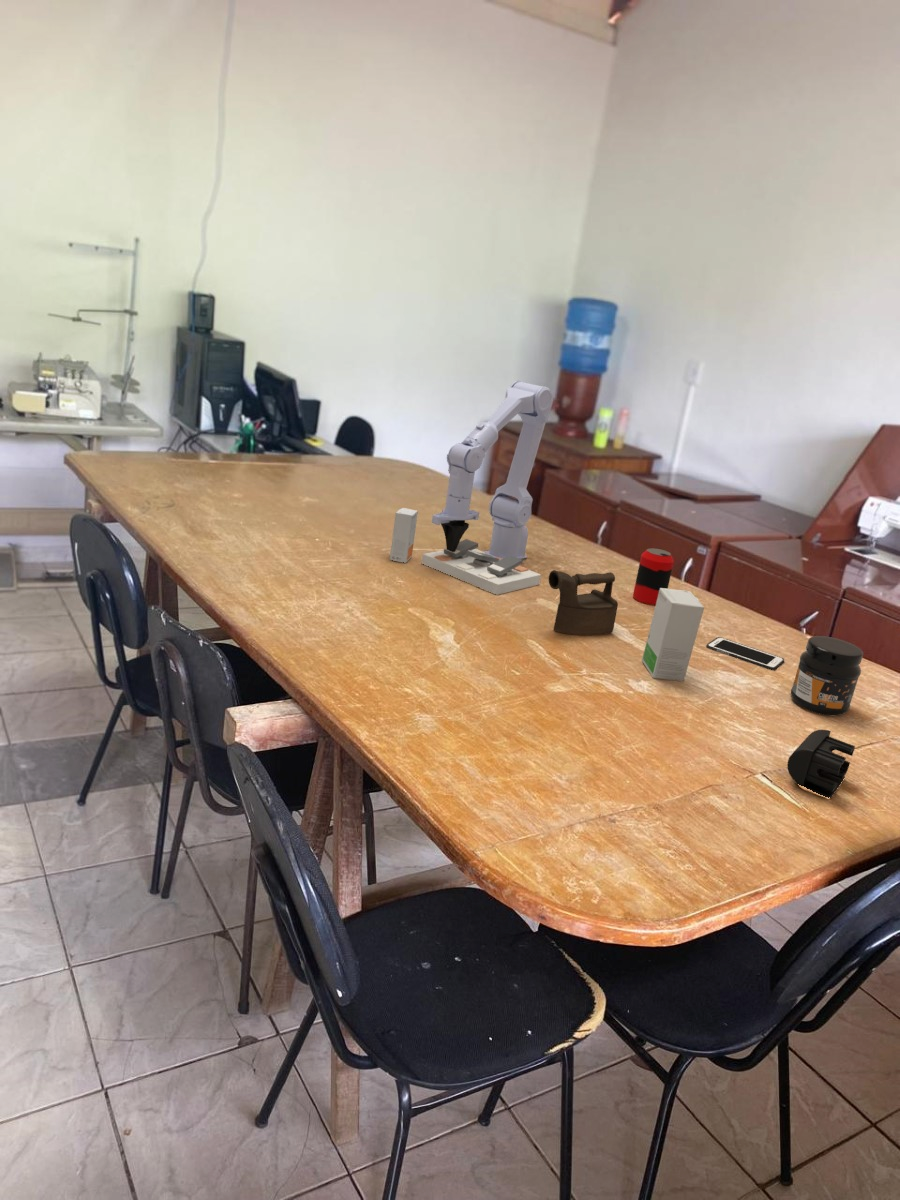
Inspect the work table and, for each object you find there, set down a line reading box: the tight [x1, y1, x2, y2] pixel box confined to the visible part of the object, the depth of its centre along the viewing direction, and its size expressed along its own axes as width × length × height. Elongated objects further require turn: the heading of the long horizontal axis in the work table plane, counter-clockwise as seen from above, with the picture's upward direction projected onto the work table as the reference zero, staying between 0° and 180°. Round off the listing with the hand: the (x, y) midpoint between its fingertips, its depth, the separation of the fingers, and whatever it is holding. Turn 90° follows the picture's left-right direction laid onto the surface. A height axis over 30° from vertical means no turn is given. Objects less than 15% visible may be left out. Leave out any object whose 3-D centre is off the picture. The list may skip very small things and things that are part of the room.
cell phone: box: [705, 636, 785, 671], centre depth 187 cm, size 8×15×1 cm, turn 54°
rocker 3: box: [487, 555, 523, 576], centre depth 209 cm, size 8×4×1 cm, turn 137°
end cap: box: [786, 729, 856, 799], centre depth 137 cm, size 10×7×7 cm
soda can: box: [632, 547, 675, 606], centre depth 211 cm, size 8×8×12 cm
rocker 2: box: [466, 550, 499, 562], centre depth 213 cm, size 8×4×1 cm, turn 138°
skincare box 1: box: [389, 507, 419, 564], centre depth 216 cm, size 6×4×12 cm
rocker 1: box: [443, 538, 479, 558], centre depth 217 cm, size 8×4×1 cm, turn 137°
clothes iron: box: [548, 569, 619, 636], centre depth 185 cm, size 8×16×13 cm, turn 120°
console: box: [421, 548, 542, 596], centre depth 214 cm, size 16×24×3 cm, turn 47°
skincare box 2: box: [641, 588, 705, 682], centre depth 169 cm, size 8×7×16 cm
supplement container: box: [790, 635, 864, 716], centre depth 164 cm, size 10×10×12 cm
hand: (451, 550), depth 215 cm, fingers closed
